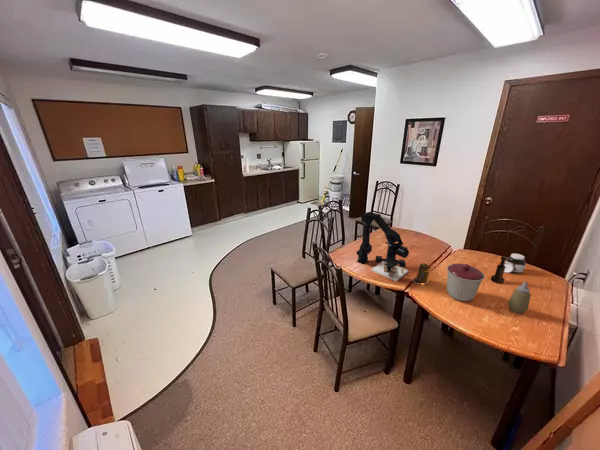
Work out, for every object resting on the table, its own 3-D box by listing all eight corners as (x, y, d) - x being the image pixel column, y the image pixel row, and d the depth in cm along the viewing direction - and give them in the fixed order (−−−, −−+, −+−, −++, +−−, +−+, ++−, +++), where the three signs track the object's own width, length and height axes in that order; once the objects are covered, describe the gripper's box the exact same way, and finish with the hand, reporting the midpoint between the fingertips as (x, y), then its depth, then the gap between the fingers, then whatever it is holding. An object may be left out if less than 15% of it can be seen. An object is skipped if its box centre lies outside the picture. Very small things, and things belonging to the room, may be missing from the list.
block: (383, 266, 175) (383, 262, 173) (395, 267, 173) (395, 263, 171) (384, 276, 162) (385, 272, 161) (397, 277, 160) (398, 273, 159)
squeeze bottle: (502, 306, 133) (511, 278, 127) (516, 305, 134) (525, 277, 128) (515, 316, 126) (526, 287, 120) (530, 315, 126) (541, 286, 120)
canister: (436, 286, 152) (442, 257, 144) (465, 286, 151) (473, 256, 144) (452, 305, 135) (459, 273, 128) (485, 305, 134) (495, 273, 127)
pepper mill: (501, 279, 158) (508, 254, 151) (505, 284, 152) (513, 259, 146) (489, 277, 160) (496, 253, 154) (492, 282, 154) (500, 258, 148)
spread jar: (523, 270, 166) (528, 255, 162) (522, 277, 159) (527, 262, 154) (500, 265, 174) (505, 250, 170) (499, 271, 166) (503, 256, 162)
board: (371, 270, 172) (371, 264, 170) (383, 262, 182) (384, 256, 181) (396, 281, 158) (397, 274, 157) (408, 271, 169) (409, 265, 167)
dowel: (400, 273, 166) (401, 268, 164) (401, 272, 166) (402, 267, 165) (402, 273, 165) (403, 268, 163) (403, 273, 166) (403, 268, 164)
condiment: (429, 282, 157) (432, 265, 153) (422, 286, 153) (425, 270, 148) (419, 277, 163) (421, 261, 159) (411, 281, 158) (414, 265, 154)
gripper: (376, 254, 153) (373, 275, 158) (408, 259, 147) (403, 281, 153) (377, 247, 163) (374, 267, 168) (406, 252, 157) (402, 272, 162)
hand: (388, 272), depth 162 cm, fingers closed
